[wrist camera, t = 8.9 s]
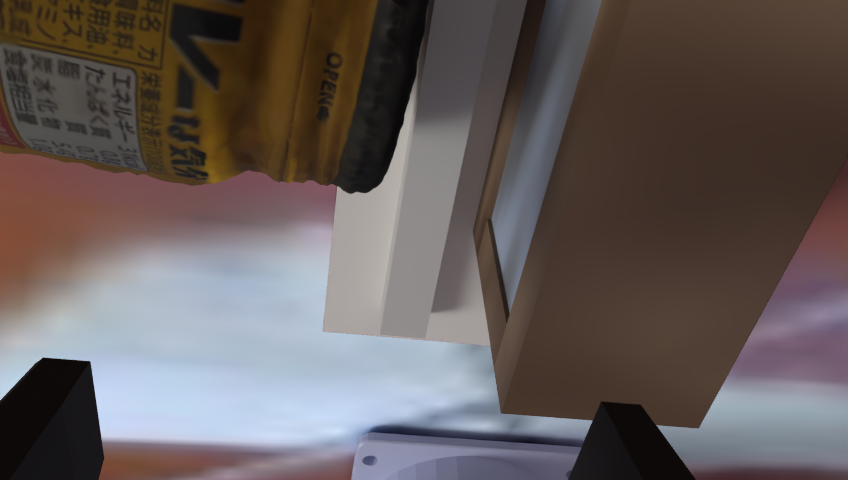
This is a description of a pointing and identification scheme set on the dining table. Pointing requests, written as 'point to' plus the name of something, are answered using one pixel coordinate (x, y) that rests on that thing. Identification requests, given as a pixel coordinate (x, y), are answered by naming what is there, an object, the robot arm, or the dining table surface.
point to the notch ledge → (428, 189)
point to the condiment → (211, 86)
